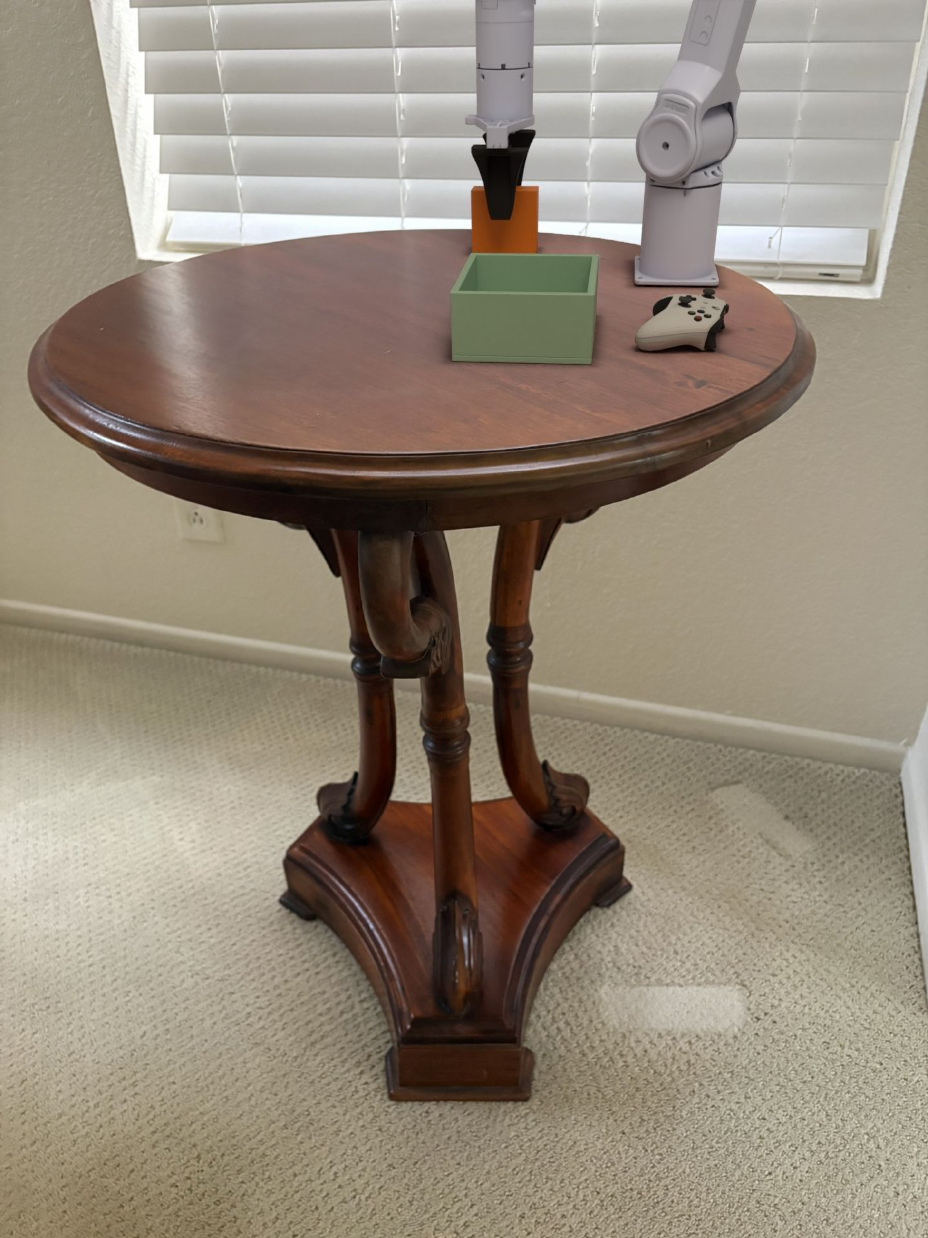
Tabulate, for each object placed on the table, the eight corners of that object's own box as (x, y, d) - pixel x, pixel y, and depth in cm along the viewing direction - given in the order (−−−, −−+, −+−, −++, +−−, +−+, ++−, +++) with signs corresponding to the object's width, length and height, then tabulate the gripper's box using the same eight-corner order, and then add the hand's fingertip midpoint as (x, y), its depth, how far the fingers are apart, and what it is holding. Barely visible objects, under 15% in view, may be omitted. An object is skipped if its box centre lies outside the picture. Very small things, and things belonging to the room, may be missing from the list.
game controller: (649, 306, 89) (703, 259, 85) (688, 351, 90) (743, 308, 86) (627, 340, 81) (685, 291, 78) (669, 390, 82) (729, 343, 79)
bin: (472, 315, 91) (470, 252, 88) (596, 317, 90) (599, 253, 87) (452, 361, 81) (449, 292, 78) (591, 364, 80) (594, 294, 77)
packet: (474, 248, 111) (473, 185, 108) (537, 248, 111) (538, 185, 107) (471, 253, 109) (470, 190, 106) (536, 254, 109) (537, 190, 105)
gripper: (474, 59, 107) (476, 196, 114) (454, 75, 95) (457, 226, 102) (540, 59, 106) (538, 196, 113) (529, 74, 94) (527, 227, 101)
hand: (504, 210), depth 108 cm, fingers open, 7 cm apart
